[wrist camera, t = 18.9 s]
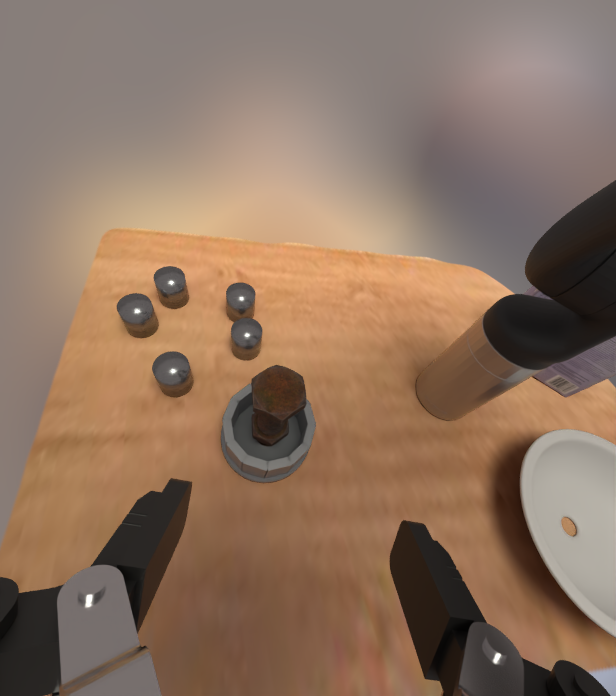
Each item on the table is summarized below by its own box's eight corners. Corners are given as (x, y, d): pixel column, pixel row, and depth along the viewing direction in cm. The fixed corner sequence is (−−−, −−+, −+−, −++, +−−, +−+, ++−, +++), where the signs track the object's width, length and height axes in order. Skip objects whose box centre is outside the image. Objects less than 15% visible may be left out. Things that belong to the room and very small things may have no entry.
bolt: (259, 464, 41) (269, 428, 28) (238, 432, 42) (238, 384, 30) (295, 438, 44) (319, 394, 31) (273, 409, 45) (288, 356, 33)
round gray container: (270, 380, 48) (273, 361, 43) (326, 439, 45) (337, 425, 40) (202, 432, 43) (197, 417, 38) (261, 504, 39) (265, 498, 34)
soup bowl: (667, 533, 48) (724, 532, 42) (625, 697, 36) (695, 725, 31) (528, 412, 54) (561, 397, 49) (457, 518, 43) (489, 514, 38)
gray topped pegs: (211, 268, 58) (209, 246, 54) (282, 337, 53) (286, 320, 49) (104, 320, 48) (91, 299, 44) (178, 411, 43) (172, 397, 39)
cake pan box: (575, 383, 60) (686, 330, 45) (572, 403, 57) (688, 353, 42) (483, 326, 63) (558, 259, 48) (475, 342, 60) (552, 276, 46)
